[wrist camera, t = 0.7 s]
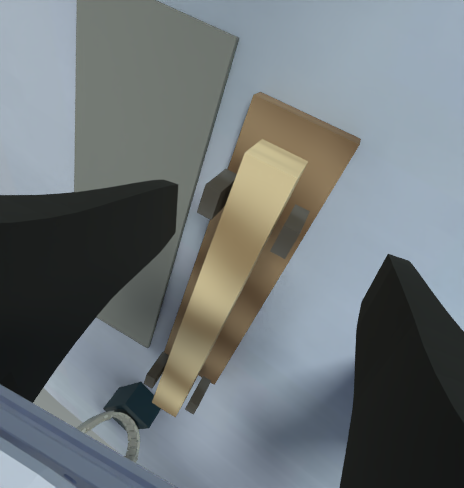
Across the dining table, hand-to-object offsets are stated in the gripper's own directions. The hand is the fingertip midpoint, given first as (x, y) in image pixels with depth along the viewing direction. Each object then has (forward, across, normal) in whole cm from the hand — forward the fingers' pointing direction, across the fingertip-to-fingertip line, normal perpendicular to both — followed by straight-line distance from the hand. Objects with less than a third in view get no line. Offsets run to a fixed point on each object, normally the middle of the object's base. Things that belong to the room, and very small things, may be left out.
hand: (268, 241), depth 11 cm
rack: (+10, +3, +10) cm, 15 cm away
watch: (+10, +12, +36) cm, 39 cm away
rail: (+6, +3, +10) cm, 12 cm away
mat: (+10, +13, +9) cm, 19 cm away
